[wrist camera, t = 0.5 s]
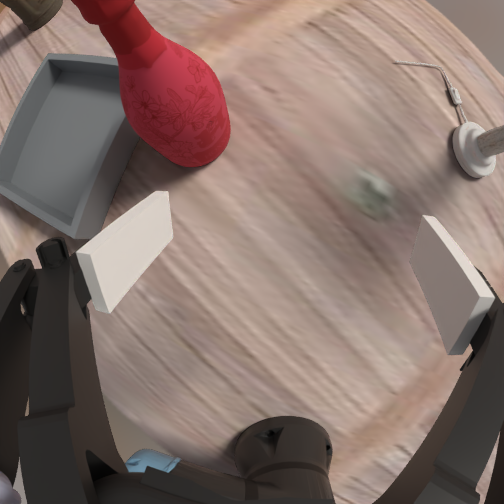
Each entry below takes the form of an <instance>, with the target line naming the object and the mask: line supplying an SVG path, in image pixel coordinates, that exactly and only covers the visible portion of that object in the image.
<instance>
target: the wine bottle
mask: <svg viewBox="0 0 504 504" xmlns="http://www.w3.org/2000/svg"><path fill="white" fill-rule="evenodd" d="M71 1H72V2H73V3H74V4H75V5H76V6H77V7H78V8H79V10H80V12H81V14H82V16H83V18H84V19H85V20H86V21H87V22H88V23H90V24H95V25H99V28H100V31H101V33H102V34H103V36H104V37H105V38H106V40H107V41H108V43H109V44H110V46H111V47H112V49H113V51H114V53H115V55H116V58H117V61H118V67H119V84H120V96H121V102H122V106H123V109H124V112H125V115H126V117H127V120H128V122H129V123H130V125H131V127H132V128H133V129H134V131H135V132H136V133H137V134H138V135H139V136H140V137H141V138H142V139H143V140H144V141H145V142H146V143H148V144H149V145H150V146H151V147H153V148H154V149H155V150H156V151H158V152H159V153H160V154H162V155H163V156H165V157H166V158H167V159H169V160H170V161H172V162H174V163H176V164H178V165H181V166H185V167H198V166H202V165H205V164H208V163H210V162H212V161H213V160H215V159H216V158H217V157H218V156H219V155H220V154H221V153H222V152H223V151H224V149H225V148H226V146H227V144H228V141H229V138H230V120H229V115H228V110H227V105H226V101H225V97H224V94H223V91H222V88H221V85H220V82H219V80H218V78H217V76H216V75H215V73H214V72H213V70H212V69H211V68H210V67H209V65H208V64H207V63H206V62H204V61H203V60H202V59H201V58H200V57H199V56H197V55H196V54H195V53H193V52H192V51H190V50H188V49H187V48H185V47H183V46H181V45H179V44H177V43H174V42H173V41H171V40H169V39H167V38H165V37H163V36H162V35H161V34H159V33H158V32H157V31H156V30H155V29H154V28H153V27H152V26H151V25H150V24H149V22H148V21H147V20H146V18H145V17H144V16H143V14H142V13H141V12H140V10H139V9H138V8H137V6H136V5H135V3H134V1H135V0H71Z"/></svg>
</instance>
